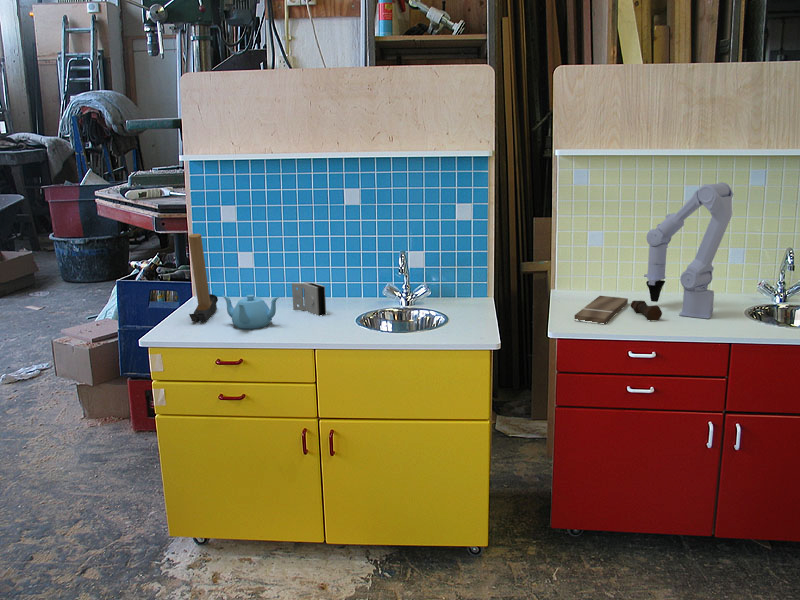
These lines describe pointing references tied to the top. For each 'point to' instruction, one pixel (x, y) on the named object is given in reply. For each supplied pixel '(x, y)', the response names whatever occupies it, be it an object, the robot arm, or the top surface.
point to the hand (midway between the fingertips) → (654, 301)
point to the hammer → (201, 281)
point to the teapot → (251, 312)
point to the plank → (602, 309)
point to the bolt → (646, 310)
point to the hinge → (309, 297)
